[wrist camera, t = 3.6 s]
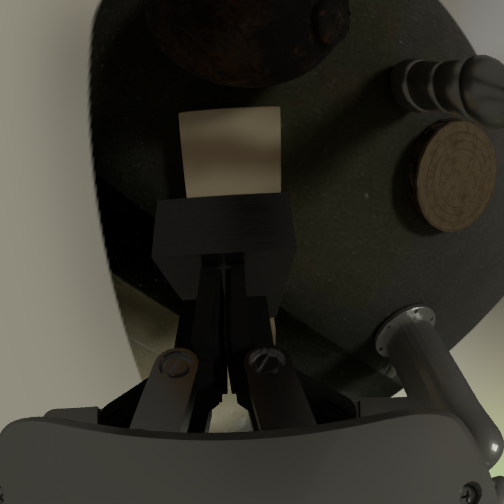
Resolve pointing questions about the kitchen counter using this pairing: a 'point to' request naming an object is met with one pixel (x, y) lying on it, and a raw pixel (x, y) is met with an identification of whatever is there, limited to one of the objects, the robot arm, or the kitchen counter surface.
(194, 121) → the nutcracker base
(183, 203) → the lever
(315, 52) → the glass bottle
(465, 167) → the brown round flat disc
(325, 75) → the kitchen counter surface
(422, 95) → the plastic bottle
